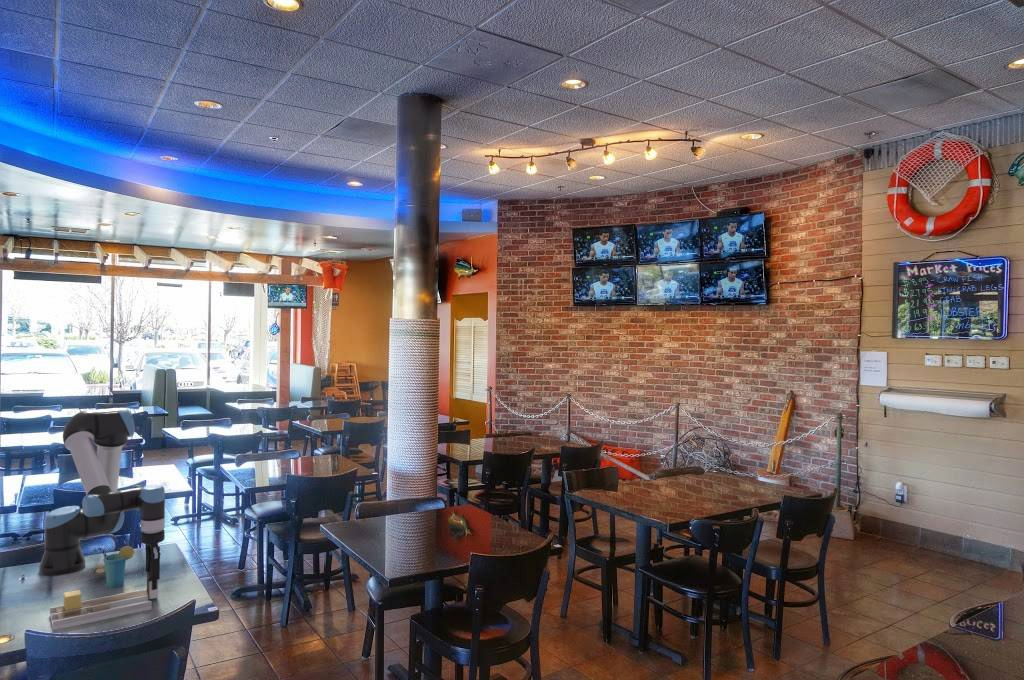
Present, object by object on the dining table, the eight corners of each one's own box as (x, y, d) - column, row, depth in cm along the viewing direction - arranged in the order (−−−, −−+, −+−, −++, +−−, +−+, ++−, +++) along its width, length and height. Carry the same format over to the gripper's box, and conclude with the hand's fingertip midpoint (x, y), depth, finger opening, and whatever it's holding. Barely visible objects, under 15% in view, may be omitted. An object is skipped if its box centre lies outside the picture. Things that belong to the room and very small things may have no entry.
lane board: (50, 615, 231) (50, 607, 231) (144, 596, 248) (144, 588, 248) (53, 630, 221) (53, 621, 221) (151, 609, 238) (151, 601, 238)
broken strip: (57, 619, 226) (57, 614, 226) (108, 608, 235) (108, 604, 235) (58, 623, 223) (58, 618, 223) (110, 612, 232) (110, 608, 231)
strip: (55, 612, 231) (55, 588, 231) (156, 592, 249) (156, 570, 249) (56, 616, 228) (56, 592, 227) (158, 596, 246) (158, 573, 245)
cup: (92, 593, 250) (92, 552, 249) (88, 586, 256) (88, 546, 255) (135, 584, 258) (135, 544, 258) (131, 578, 264) (131, 539, 264)
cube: (63, 606, 232) (63, 592, 232) (79, 602, 235) (79, 589, 235) (65, 610, 229) (65, 597, 229) (81, 607, 231) (81, 594, 231)
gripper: (136, 525, 250) (136, 590, 251) (145, 538, 237) (145, 606, 237) (159, 522, 255) (159, 585, 255) (169, 534, 241) (169, 601, 242)
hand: (152, 595), depth 246 cm, fingers closed on strip, 4 cm apart
